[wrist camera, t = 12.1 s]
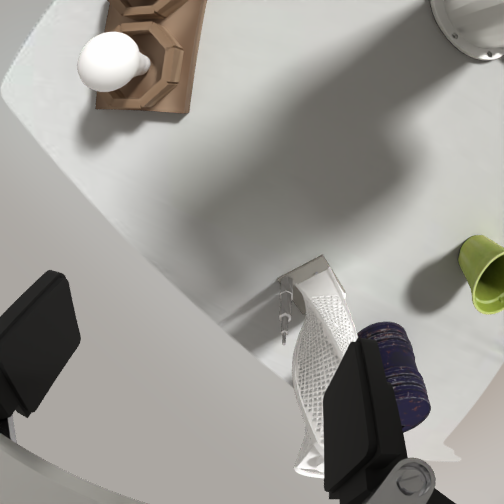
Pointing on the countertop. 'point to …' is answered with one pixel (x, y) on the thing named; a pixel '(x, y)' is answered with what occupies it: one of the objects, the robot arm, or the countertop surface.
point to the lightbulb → (110, 62)
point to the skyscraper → (315, 348)
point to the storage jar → (400, 372)
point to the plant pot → (484, 273)
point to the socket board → (157, 53)
